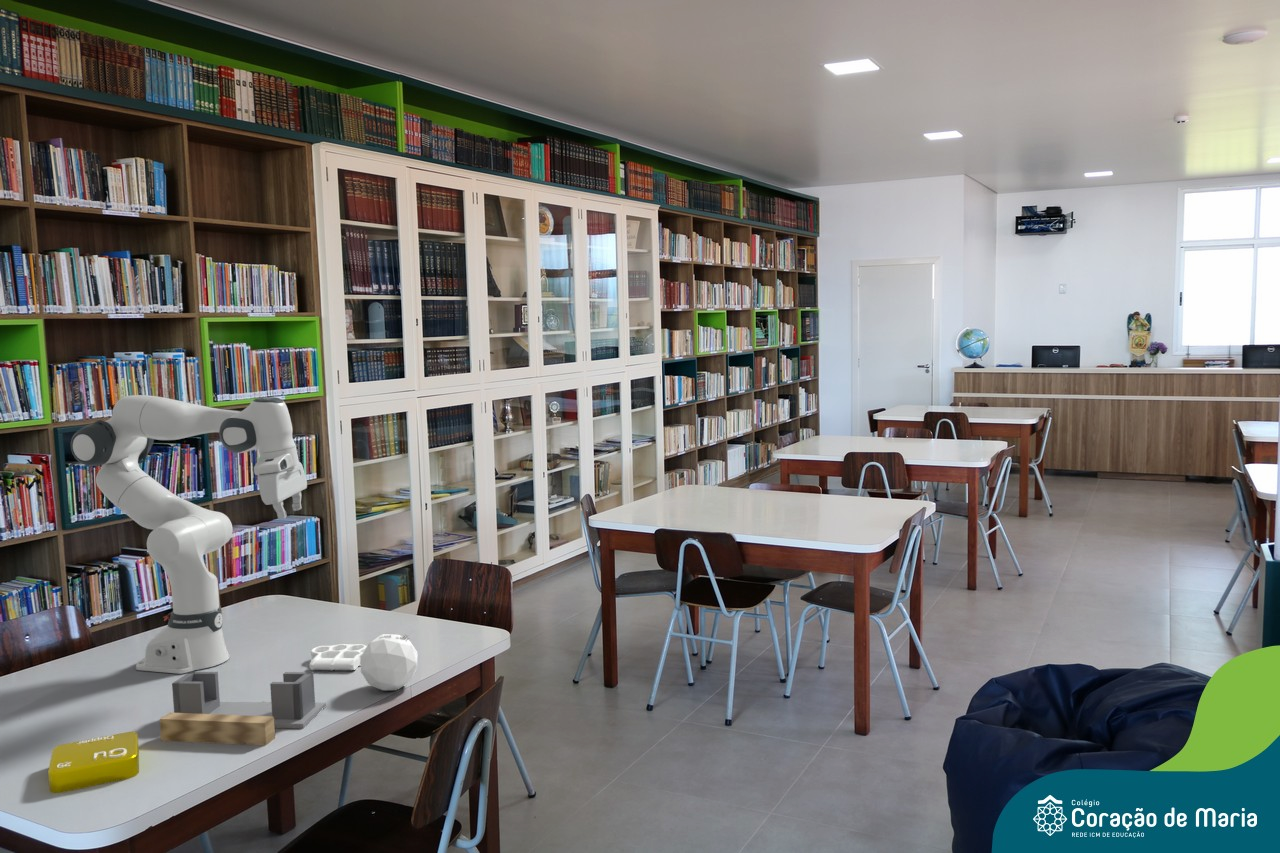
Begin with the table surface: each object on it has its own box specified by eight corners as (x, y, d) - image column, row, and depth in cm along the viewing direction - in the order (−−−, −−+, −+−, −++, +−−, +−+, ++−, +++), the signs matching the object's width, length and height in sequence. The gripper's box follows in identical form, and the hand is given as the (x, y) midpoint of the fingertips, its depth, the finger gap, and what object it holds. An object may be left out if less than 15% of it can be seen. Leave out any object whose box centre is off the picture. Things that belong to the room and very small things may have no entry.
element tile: (138, 749, 199) (137, 727, 198) (139, 777, 186) (137, 754, 185) (54, 766, 192) (52, 742, 191) (48, 796, 179) (46, 772, 178)
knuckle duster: (297, 673, 243) (322, 654, 257) (366, 673, 241) (387, 654, 255) (296, 660, 242) (321, 641, 257) (365, 660, 241) (386, 642, 255)
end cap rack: (162, 726, 209) (159, 687, 209) (192, 705, 221) (189, 668, 221) (303, 728, 207) (300, 687, 206) (326, 706, 219) (323, 668, 218)
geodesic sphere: (429, 650, 239) (392, 611, 235) (438, 667, 226) (399, 627, 222) (383, 691, 236) (346, 653, 232) (390, 710, 223) (350, 670, 219)
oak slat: (161, 741, 202) (159, 718, 202) (171, 735, 206) (170, 712, 205) (266, 746, 199) (264, 723, 198) (275, 739, 202) (273, 716, 202)
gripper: (284, 455, 250) (294, 507, 252) (250, 469, 230) (261, 525, 232) (307, 452, 250) (317, 503, 252) (275, 466, 230) (286, 521, 232)
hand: (290, 514), depth 242 cm, fingers open, 8 cm apart
